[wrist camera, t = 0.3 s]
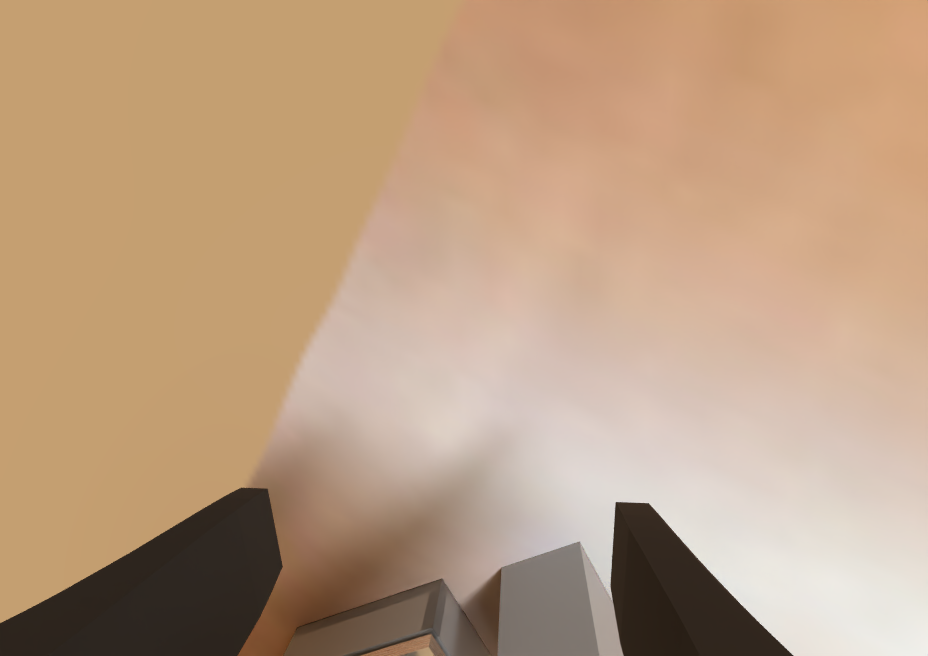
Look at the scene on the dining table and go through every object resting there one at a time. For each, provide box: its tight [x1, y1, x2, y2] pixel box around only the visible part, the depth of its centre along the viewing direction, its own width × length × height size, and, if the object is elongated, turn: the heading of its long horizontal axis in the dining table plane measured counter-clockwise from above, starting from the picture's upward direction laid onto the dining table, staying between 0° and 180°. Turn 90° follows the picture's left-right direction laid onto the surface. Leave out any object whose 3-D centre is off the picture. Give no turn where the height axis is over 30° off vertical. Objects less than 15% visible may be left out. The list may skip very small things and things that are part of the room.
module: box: [497, 542, 623, 656], centre depth 19 cm, size 4×4×6 cm
